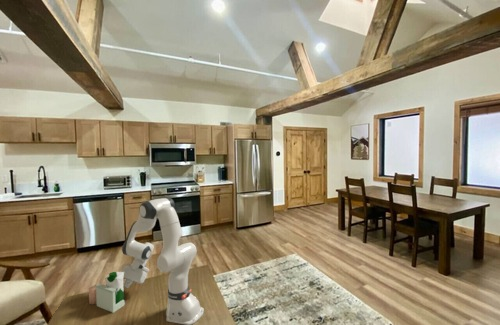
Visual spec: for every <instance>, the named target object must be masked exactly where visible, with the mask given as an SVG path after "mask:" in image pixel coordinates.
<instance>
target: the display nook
mask: <svg viewBox="0 0 500 325" xmlns="http://www.w3.org/2000/svg"><path fill="white" fill-rule="evenodd" d="M95 285H96V298H97V303H96V307H98V308H100V309H103V310H106V311H107V312H111V313H113V314H114V313H115V312H116V311H118V310H120V309H121V308H123V307H124V306H125V299H124V300H122V301H120V302H119V303H117V304H116V303H115V292H116V289H115V288H112V287H109V286H106V285H105V284H102V283H98V284H95Z"/></svg>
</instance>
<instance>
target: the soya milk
mask: <svg viewBox="0 0 500 325" xmlns="http://www.w3.org/2000/svg"><path fill="white" fill-rule="evenodd" d="M108 274H109V275H106V277H105V278H104V279H105V284H106V286H109V287H112V288H115V289H116V292H115V303H116V304H117V303H119V302H120V301H122V300H125V294H124V272H121V271H112V272H110V273H108Z"/></svg>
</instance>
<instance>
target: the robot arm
mask: <svg viewBox="0 0 500 325" xmlns="http://www.w3.org/2000/svg"><path fill="white" fill-rule="evenodd" d="M175 208H176V204H175V201H174V199H173V198H171V197H162V198H156V199H155V198H154V199H151V200H146V201H144V202H142V203H140V205H139V207H138V212H139V213H138V218H137V220H136V221H134V222H133V223H132V224H131V226H130V228H129V231H128V233H127V236H126V238H125V241H124V243H123V245H122V248H121V252H122V254H123V255H126V256H129V257H133V258H134V260H133V261H132V263H131V264H130V263H128V264H126V265H125V266H124V267H123V268H122V270H121V271H120V272H124V278H123V280H125V281H124V284H123V288H126V289H129V288H130V286H131V285H132V284H133V283H137V284H143V283H144V282H145V280H146V278H147V276H148V273H149V272H150V268H148V267H147V266H146V265H147V263H148V261H149V260H150V258H151V256H152V254H153V252H154V249H155V246H154V244H152V243H151V242H149V241H148V242H147V241H146V242H145V243H142V242H140V241H139V242H138V241H137V240H135V238H136V235H137V233H146V232H149V231H150V230H153V229H154V227H155V226H156V222H157V220H158V222H159V227H160V230H161V235H162V242H163V243H162V249H161V251H160V254H159V255H158V257H157V259H156V267H157V269H158V270H159V271H161V273H168V272H170V273H169V274H168V279H167V281H168V282H167V284H168V285H167V286H168V289H167V297H168V298H167V299H168V300H167V307H166V311H165V316H166V322H168V323H169V322H170V323H173V324H174V323H175V324H181V325H193V324H194V323H196V322H197V321H198V320H200V318H201V317H202V316H203V314H204V312H205V308H204V307H202V306H201V305H200V304H201V303H200V301H199V300H198V298H197V297H196V296H194V295H193V293H191V292H192V288H190V287H189V271H190V269H191V265H192V262H193V260H194V259H195V257H196V256H197V252H198V251H197V247H196V245H195V244H194V243H193V242H186V243H185V242H184V243H182V244H180V245H179V240H180V239H181V237H182V236H183V231H182V227H181V224H180V220H179V216H178V214H177V211H176V209H175Z"/></svg>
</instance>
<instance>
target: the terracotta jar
mask: <svg viewBox="0 0 500 325" xmlns="http://www.w3.org/2000/svg"><path fill="white" fill-rule="evenodd" d="M96 285H97V284H95V285H91V286H90V287H89V288H88V301H89V305H97V298H96Z"/></svg>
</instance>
